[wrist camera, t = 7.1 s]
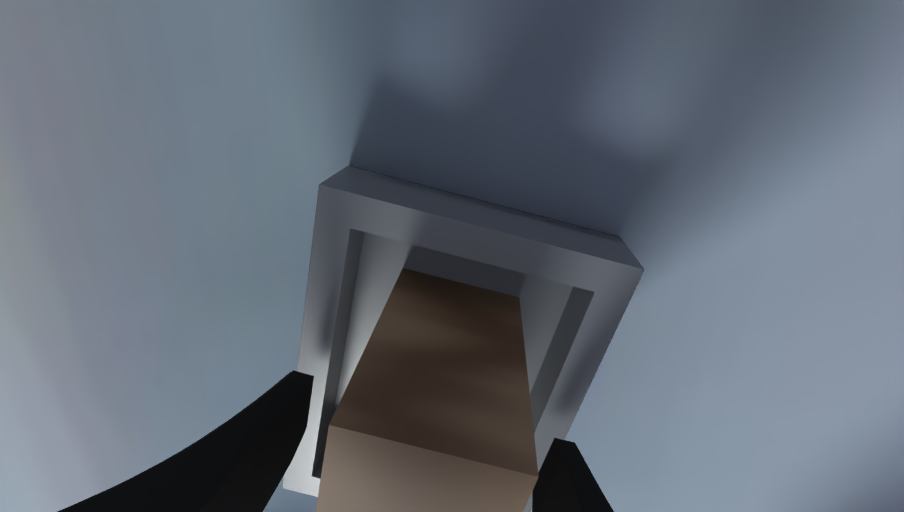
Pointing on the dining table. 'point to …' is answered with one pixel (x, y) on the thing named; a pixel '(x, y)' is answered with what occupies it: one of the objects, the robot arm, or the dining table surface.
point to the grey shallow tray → (462, 260)
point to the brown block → (435, 407)
